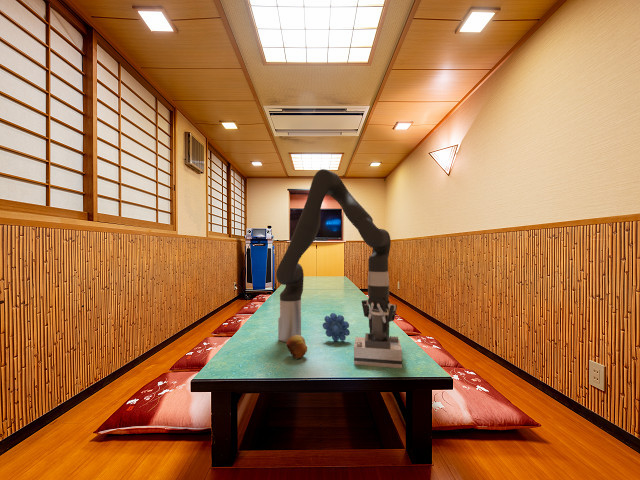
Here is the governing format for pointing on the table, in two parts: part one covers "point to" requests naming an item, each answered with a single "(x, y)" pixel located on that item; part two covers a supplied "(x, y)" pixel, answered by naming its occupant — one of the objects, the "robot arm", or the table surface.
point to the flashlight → (377, 326)
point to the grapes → (336, 327)
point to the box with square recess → (378, 352)
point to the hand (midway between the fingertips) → (378, 330)
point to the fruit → (297, 346)
